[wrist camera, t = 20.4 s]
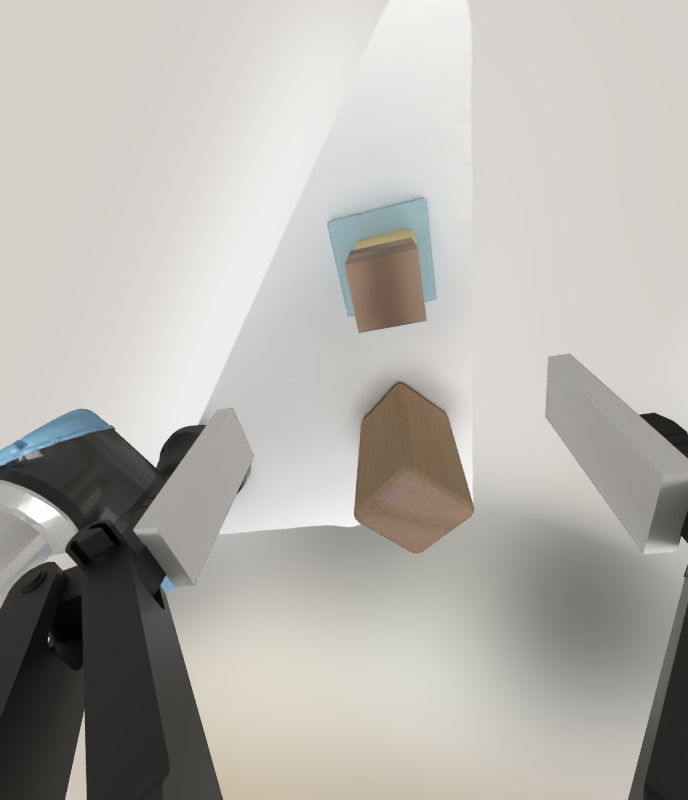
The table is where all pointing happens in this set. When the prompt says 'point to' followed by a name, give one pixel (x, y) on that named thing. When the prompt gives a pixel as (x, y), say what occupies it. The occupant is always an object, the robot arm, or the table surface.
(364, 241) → the brick
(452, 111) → the table surface
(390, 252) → the brick
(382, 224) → the base brick
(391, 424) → the wooden block
